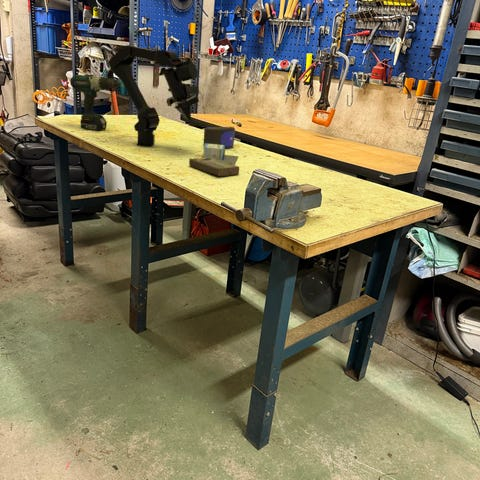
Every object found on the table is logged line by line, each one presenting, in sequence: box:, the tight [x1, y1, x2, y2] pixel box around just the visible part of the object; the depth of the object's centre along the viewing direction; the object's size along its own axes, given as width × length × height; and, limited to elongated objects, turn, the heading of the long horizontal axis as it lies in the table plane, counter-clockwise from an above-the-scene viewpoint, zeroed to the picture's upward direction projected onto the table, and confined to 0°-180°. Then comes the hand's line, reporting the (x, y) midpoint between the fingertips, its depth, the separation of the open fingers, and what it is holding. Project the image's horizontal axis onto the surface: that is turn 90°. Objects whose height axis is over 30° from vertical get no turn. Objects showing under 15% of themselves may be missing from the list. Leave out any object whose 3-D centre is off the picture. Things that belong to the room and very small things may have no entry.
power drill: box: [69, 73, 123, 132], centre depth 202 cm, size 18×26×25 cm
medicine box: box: [202, 143, 226, 159], centre depth 178 cm, size 8×4×9 cm
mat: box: [217, 154, 239, 166], centre depth 178 cm, size 13×14×1 cm
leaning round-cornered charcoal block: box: [203, 126, 236, 150], centre depth 194 cm, size 16×5×9 cm, turn 125°
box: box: [188, 157, 240, 178], centre depth 159 cm, size 11×17×3 cm, turn 43°
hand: (189, 120), depth 179 cm, fingers closed
